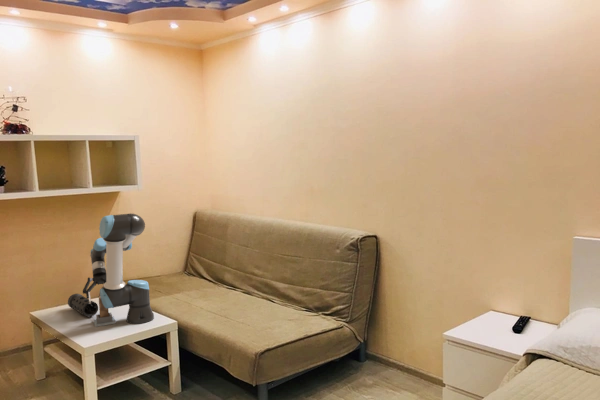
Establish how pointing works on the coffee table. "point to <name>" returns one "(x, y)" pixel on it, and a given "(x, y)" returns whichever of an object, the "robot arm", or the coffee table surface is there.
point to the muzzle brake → (82, 305)
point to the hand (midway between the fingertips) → (102, 300)
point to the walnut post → (102, 309)
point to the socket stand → (104, 320)
